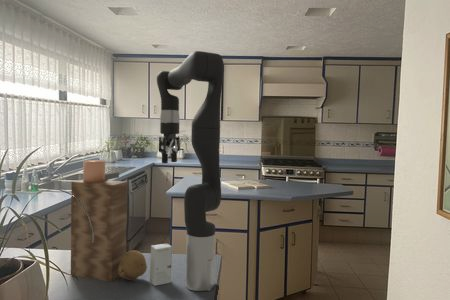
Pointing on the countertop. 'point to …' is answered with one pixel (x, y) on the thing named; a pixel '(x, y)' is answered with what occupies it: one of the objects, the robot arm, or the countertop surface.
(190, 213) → the robot arm
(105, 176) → the peach cylinder
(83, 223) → the stand
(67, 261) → the countertop surface
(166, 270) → the skincare box
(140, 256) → the natural sponge
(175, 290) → the countertop surface
